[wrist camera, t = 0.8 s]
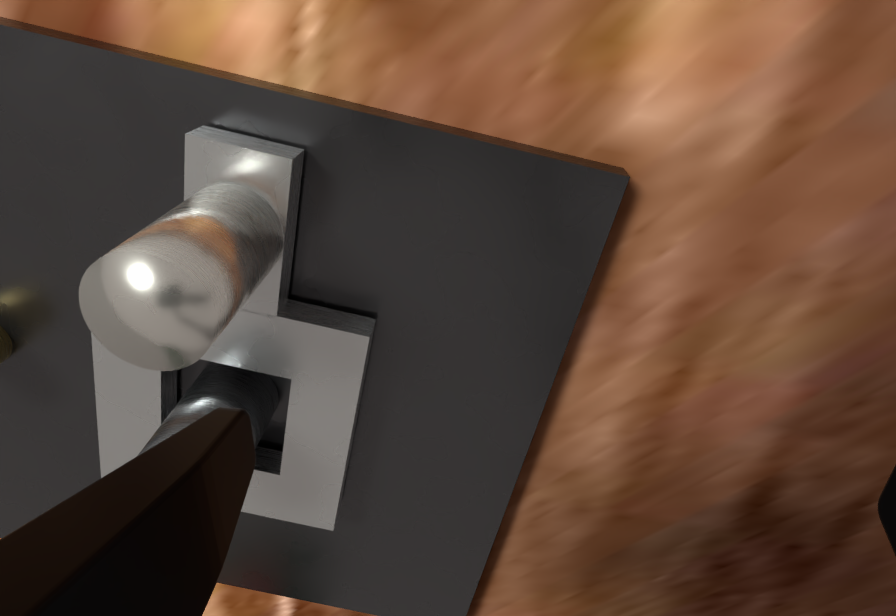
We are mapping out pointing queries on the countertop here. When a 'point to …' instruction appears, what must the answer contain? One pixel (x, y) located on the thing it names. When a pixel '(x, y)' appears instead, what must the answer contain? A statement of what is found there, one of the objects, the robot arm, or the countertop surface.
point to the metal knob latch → (228, 323)
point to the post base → (312, 281)
